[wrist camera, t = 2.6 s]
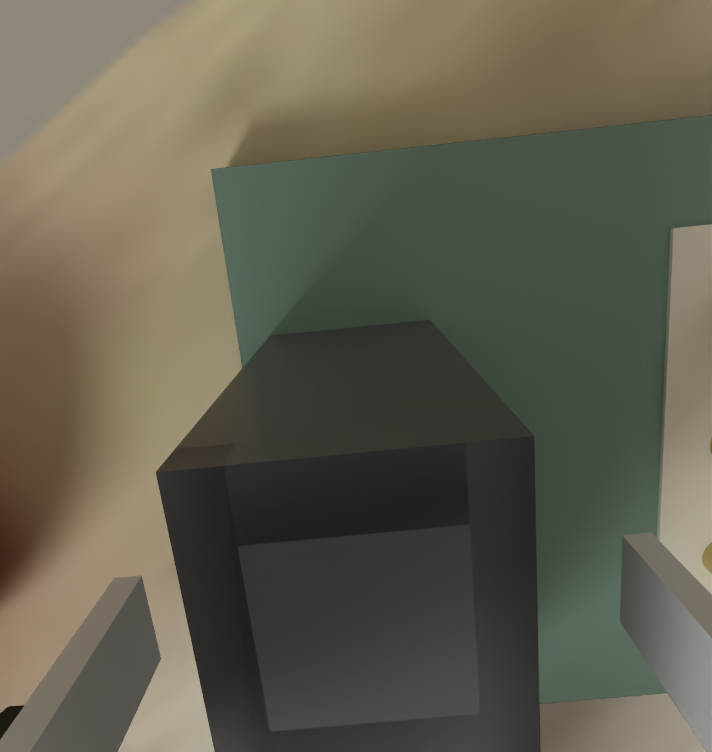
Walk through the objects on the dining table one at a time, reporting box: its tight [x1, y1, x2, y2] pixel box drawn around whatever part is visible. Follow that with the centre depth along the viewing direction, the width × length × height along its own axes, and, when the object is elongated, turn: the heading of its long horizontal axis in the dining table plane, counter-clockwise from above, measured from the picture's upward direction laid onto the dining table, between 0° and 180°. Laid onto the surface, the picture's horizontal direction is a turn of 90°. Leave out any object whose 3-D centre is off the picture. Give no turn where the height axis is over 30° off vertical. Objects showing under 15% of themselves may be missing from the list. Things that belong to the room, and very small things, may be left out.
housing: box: [156, 320, 540, 752], centre depth 14 cm, size 5×14×10 cm, turn 6°
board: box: [211, 115, 712, 704], centre depth 16 cm, size 18×20×6 cm
